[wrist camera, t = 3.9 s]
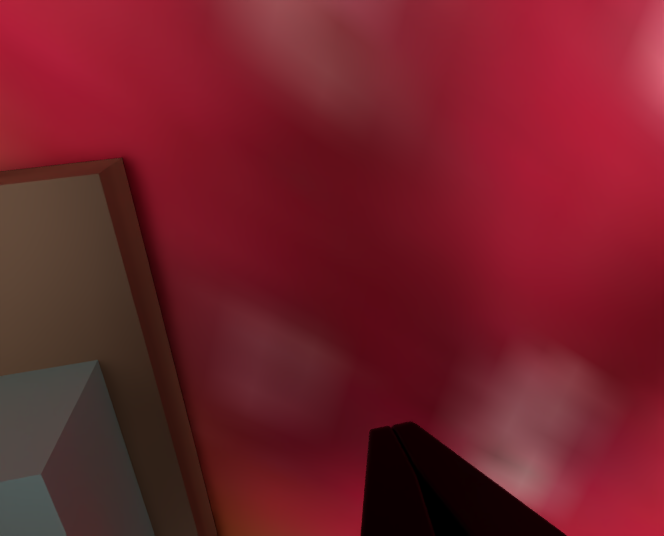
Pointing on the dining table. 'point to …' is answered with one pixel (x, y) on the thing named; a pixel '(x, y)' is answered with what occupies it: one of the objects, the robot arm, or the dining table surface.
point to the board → (99, 320)
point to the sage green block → (65, 457)
